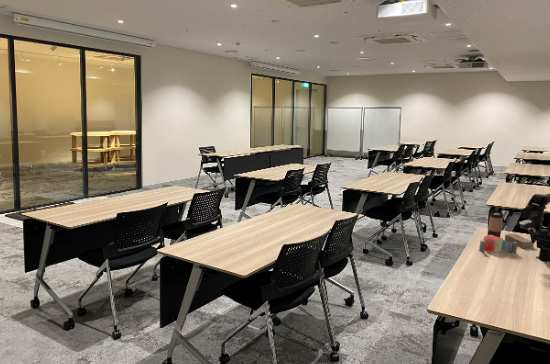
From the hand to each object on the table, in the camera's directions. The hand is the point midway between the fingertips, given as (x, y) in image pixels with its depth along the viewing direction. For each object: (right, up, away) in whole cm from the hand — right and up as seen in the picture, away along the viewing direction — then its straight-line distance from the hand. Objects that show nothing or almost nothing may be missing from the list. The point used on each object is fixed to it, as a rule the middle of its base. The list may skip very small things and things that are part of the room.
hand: (532, 242), depth 242 cm
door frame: (-10, -8, +18) cm, 22 cm away
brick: (+12, -6, +35) cm, 38 cm away
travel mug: (-5, -5, +36) cm, 36 cm away
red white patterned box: (-12, -8, +23) cm, 27 cm away
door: (-8, -7, +24) cm, 26 cm away
